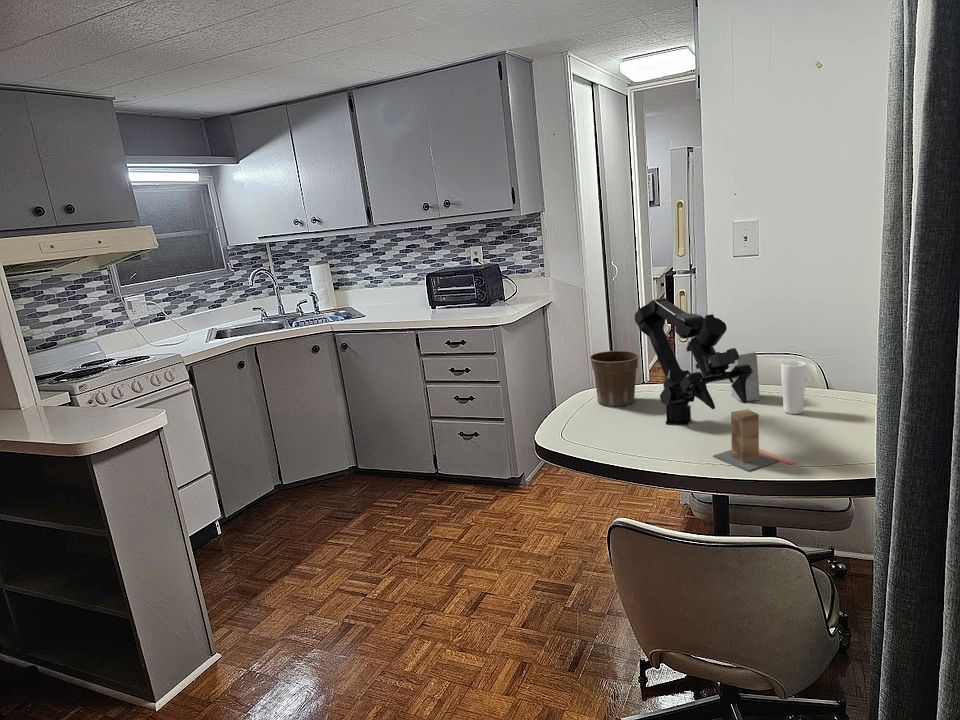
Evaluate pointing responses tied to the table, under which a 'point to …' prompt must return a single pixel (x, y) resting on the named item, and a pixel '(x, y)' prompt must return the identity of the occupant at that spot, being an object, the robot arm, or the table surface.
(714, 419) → the table surface
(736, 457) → the walnut block
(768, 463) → the mat
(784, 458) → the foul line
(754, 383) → the skincare box
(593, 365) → the plant pot
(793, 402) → the drinking glass
